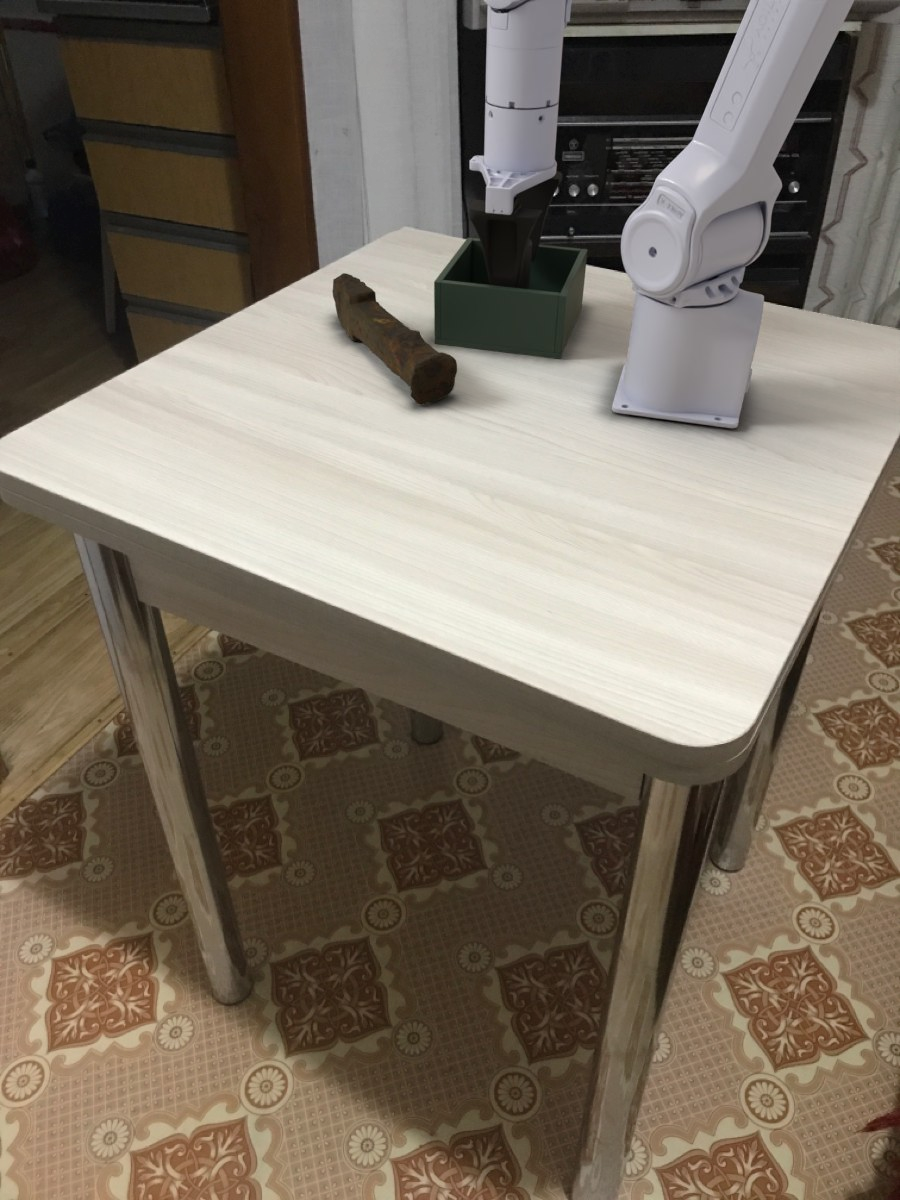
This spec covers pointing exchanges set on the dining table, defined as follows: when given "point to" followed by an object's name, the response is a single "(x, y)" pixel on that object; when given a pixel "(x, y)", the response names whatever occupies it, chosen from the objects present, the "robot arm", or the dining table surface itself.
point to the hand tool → (393, 341)
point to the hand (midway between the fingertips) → (513, 275)
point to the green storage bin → (510, 303)
